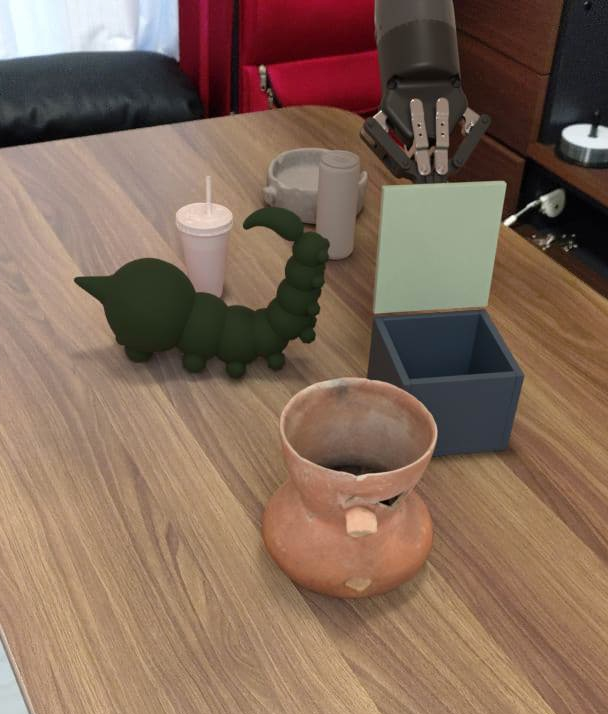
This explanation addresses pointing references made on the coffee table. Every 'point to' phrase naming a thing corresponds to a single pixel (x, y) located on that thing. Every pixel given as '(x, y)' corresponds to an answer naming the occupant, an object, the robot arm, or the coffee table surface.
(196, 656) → the coffee table surface
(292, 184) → the dish
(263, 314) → the toy figurine
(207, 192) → the smoothie
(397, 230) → the lid
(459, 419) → the box
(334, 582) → the ceramic jug
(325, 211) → the beverage can
